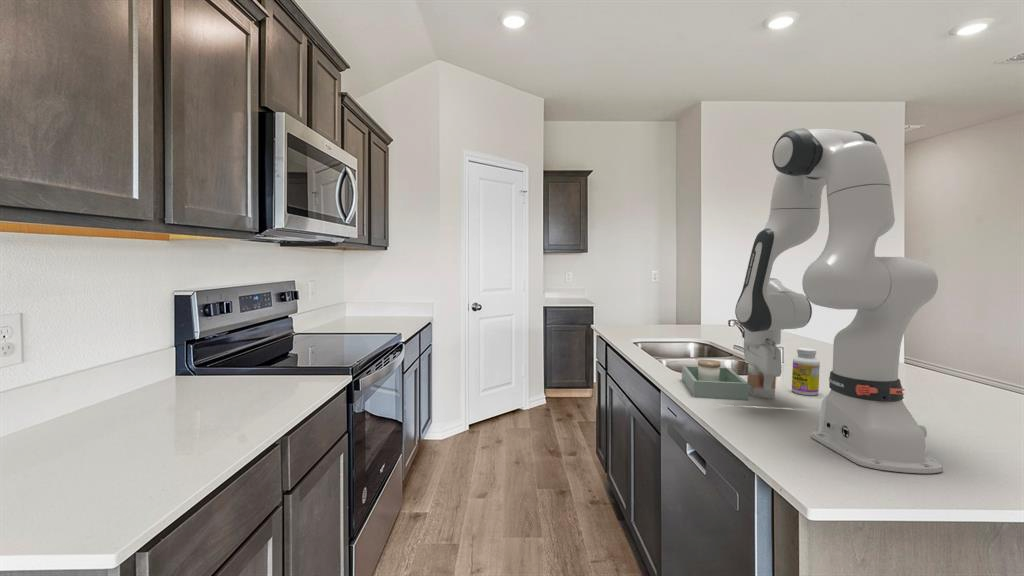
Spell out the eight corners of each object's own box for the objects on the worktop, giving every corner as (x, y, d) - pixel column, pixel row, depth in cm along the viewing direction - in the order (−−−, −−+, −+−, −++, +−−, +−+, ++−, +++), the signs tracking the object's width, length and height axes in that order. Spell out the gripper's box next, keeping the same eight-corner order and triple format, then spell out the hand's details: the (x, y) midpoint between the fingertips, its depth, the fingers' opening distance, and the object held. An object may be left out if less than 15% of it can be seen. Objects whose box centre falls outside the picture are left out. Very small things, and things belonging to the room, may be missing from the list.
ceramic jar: (722, 387, 141) (722, 364, 140) (699, 386, 142) (700, 363, 142) (717, 382, 147) (717, 360, 147) (695, 381, 148) (695, 359, 148)
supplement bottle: (786, 390, 140) (787, 347, 139) (803, 389, 142) (805, 346, 141) (806, 396, 134) (808, 351, 133) (824, 395, 136) (825, 350, 135)
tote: (747, 402, 129) (748, 383, 128) (693, 399, 131) (693, 381, 131) (728, 383, 148) (729, 367, 148) (681, 381, 151) (682, 365, 150)
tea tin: (775, 400, 130) (776, 368, 130) (753, 399, 131) (754, 367, 131) (768, 394, 136) (769, 363, 135) (747, 393, 137) (747, 362, 136)
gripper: (789, 342, 122) (787, 396, 122) (762, 331, 142) (761, 377, 143) (762, 342, 123) (761, 394, 124) (740, 330, 143) (739, 376, 144)
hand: (761, 385), depth 133 cm, fingers open, 8 cm apart
